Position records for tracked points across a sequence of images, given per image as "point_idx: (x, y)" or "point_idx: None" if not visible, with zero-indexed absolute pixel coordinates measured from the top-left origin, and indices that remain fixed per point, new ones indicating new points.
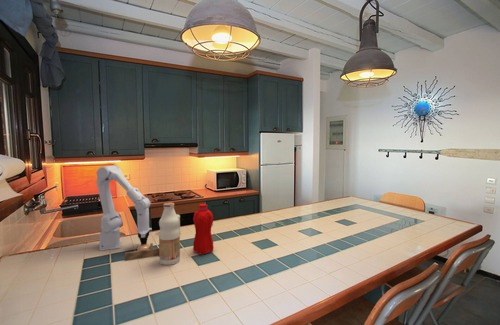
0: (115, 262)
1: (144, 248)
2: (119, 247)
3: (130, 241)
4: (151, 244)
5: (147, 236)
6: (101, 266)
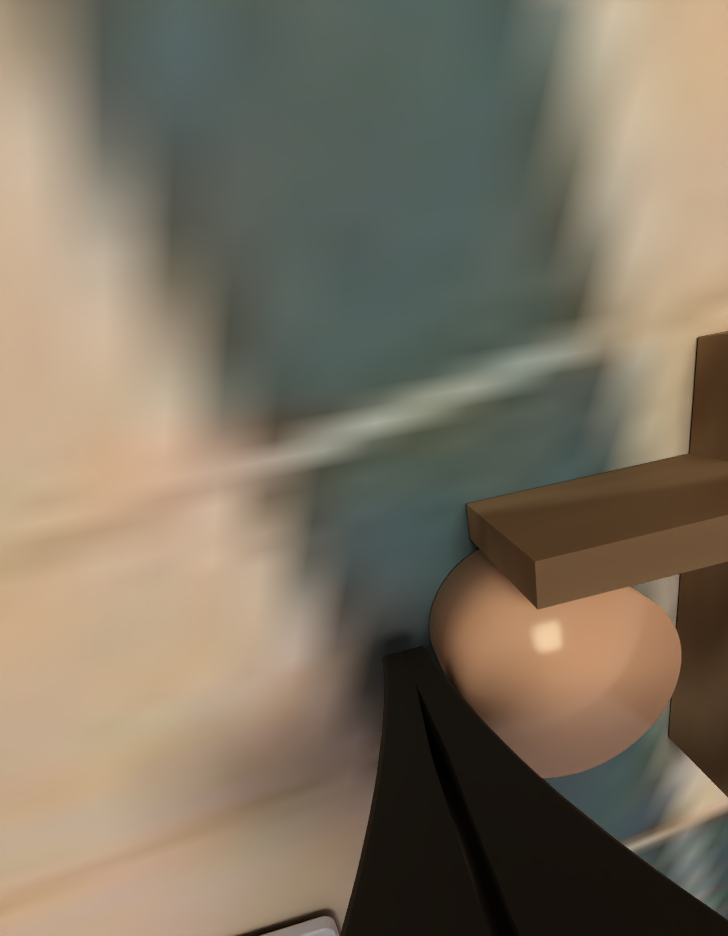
0: (694, 793)
1: (678, 643)
2: (331, 927)
3: (72, 898)
4: (605, 568)
5: (681, 905)
6: (724, 857)
